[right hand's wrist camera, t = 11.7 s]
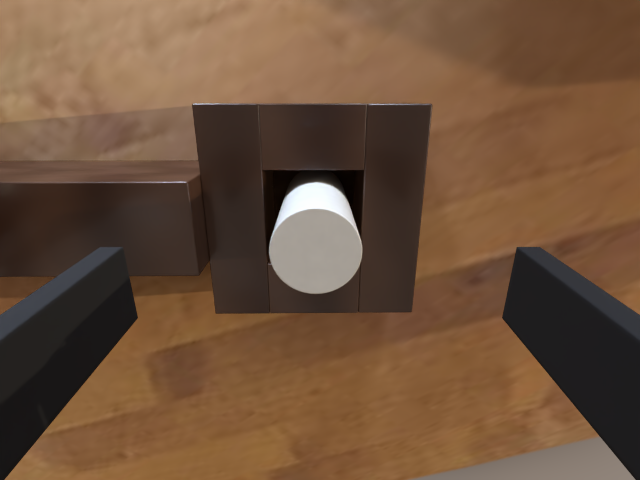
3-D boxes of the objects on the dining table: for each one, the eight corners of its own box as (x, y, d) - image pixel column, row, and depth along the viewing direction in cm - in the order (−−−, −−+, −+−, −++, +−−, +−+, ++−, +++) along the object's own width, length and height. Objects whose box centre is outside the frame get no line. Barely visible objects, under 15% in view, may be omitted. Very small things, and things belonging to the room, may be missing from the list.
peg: (285, 167, 24) (266, 207, 15) (345, 167, 25) (364, 207, 15) (286, 225, 26) (271, 294, 16) (344, 224, 26) (360, 294, 17)
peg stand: (-43, 278, 27) (-158, 335, 20) (-109, 103, 23) (-280, 103, 16) (395, 276, 27) (420, 331, 21) (409, 103, 23) (446, 103, 17)
